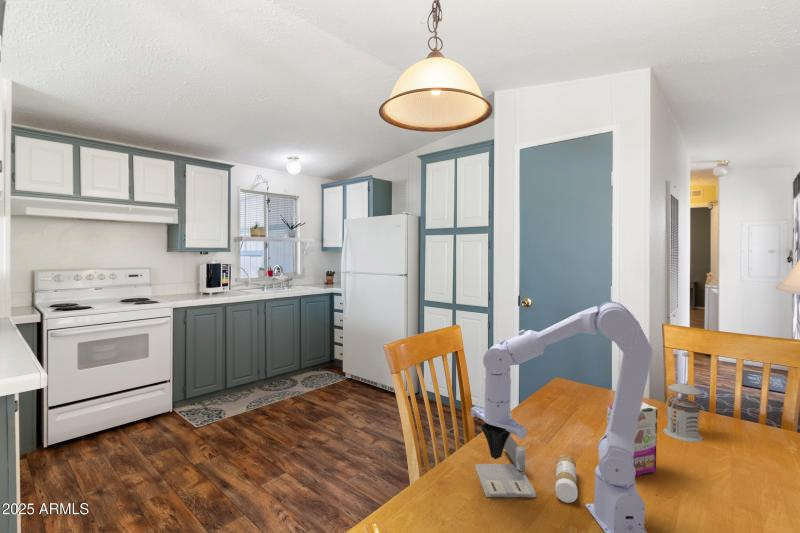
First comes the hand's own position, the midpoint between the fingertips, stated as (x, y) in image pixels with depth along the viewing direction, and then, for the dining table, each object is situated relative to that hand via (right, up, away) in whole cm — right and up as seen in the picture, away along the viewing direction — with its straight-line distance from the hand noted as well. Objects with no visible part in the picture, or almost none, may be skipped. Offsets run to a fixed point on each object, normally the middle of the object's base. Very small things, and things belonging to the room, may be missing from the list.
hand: (496, 456), depth 92 cm
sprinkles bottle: (+19, -5, +8) cm, 21 cm away
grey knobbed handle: (+7, -6, +12) cm, 15 cm away
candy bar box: (+36, -8, +9) cm, 37 cm away
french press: (+62, -7, +29) cm, 69 cm away
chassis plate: (+3, -7, +3) cm, 8 cm away
